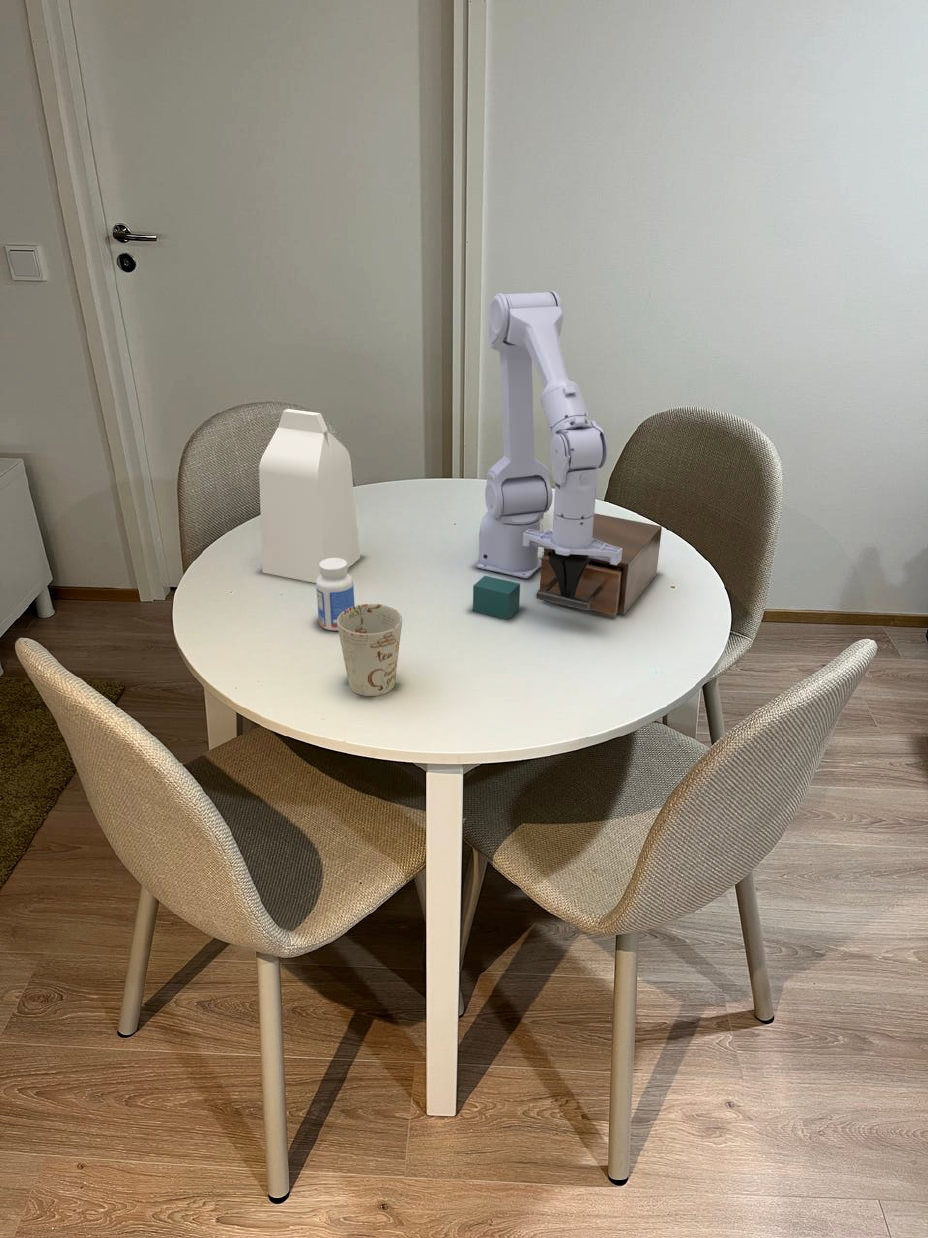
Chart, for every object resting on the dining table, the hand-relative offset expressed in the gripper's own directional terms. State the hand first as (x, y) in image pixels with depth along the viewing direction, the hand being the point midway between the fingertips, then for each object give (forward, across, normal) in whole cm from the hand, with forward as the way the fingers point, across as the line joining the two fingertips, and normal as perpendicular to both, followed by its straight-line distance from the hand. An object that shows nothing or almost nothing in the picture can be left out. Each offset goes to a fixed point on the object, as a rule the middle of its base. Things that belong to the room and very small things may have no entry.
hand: (568, 598), depth 145 cm
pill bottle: (+4, -30, -16) cm, 35 cm away
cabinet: (+4, 0, +15) cm, 15 cm away
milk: (+4, -45, -1) cm, 45 cm away
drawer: (+3, 0, +8) cm, 9 cm away
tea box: (+4, -11, -1) cm, 12 cm away
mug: (+4, -18, -27) cm, 33 cm away
